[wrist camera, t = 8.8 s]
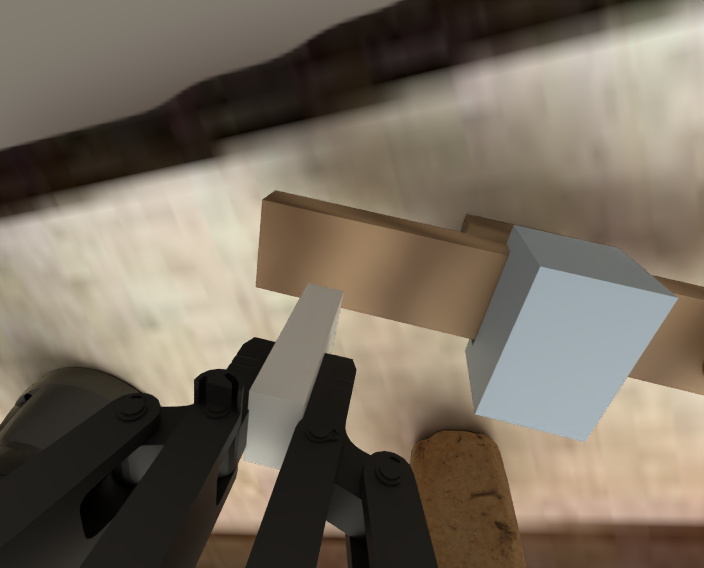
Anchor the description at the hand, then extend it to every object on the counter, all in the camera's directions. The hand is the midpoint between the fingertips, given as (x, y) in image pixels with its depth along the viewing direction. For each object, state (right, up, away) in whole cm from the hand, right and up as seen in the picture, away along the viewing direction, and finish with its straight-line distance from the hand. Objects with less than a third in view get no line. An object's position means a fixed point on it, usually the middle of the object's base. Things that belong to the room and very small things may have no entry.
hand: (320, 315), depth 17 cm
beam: (+11, +3, +10) cm, 15 cm away
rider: (+11, 0, +4) cm, 12 cm away
